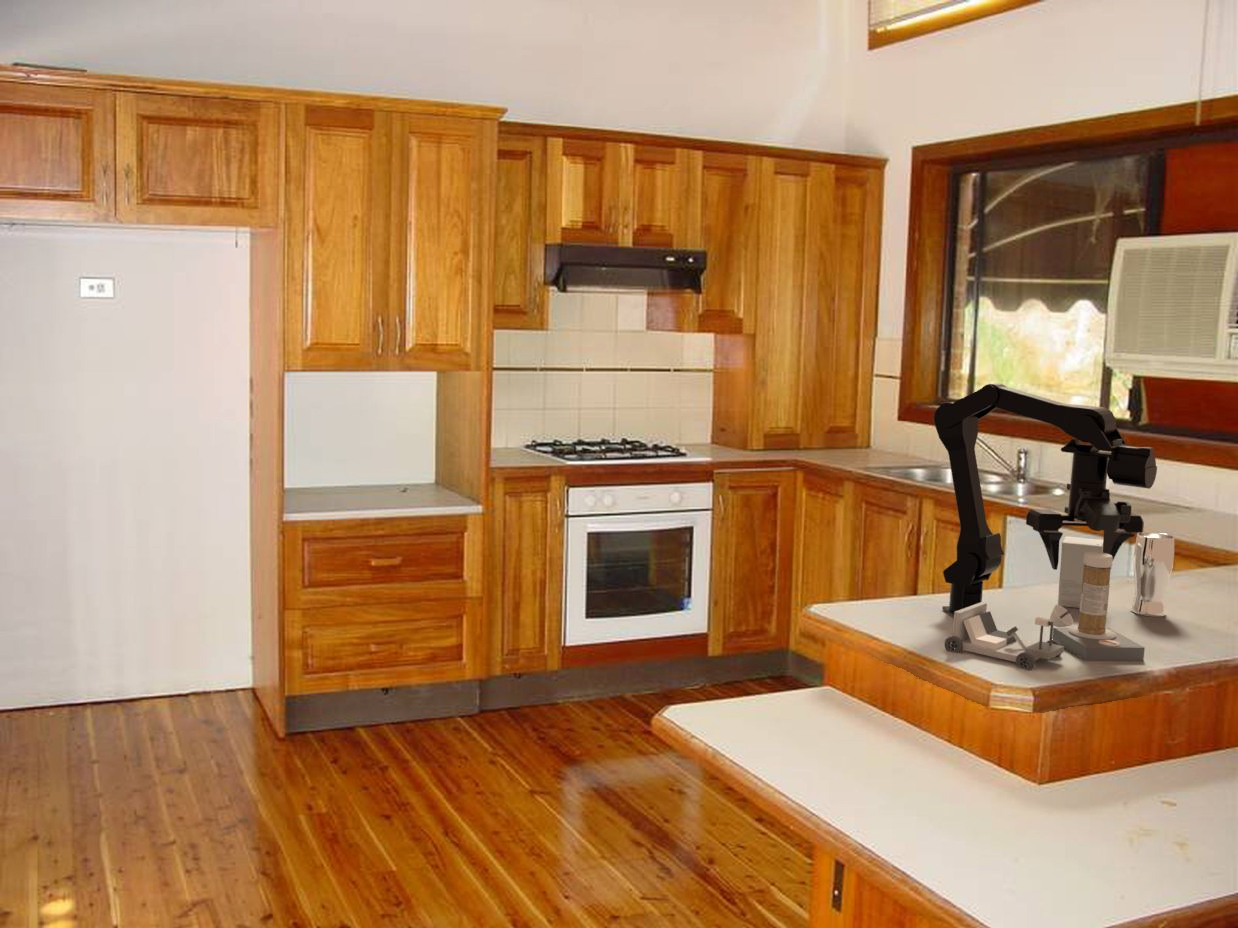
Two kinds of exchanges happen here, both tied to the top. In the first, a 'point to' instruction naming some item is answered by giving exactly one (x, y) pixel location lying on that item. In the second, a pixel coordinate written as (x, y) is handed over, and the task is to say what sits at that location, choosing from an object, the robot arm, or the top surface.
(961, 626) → the toy go kart
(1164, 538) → the beer glass
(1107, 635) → the kitchen scale
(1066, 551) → the supplement box
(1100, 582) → the sprinkles bottle
